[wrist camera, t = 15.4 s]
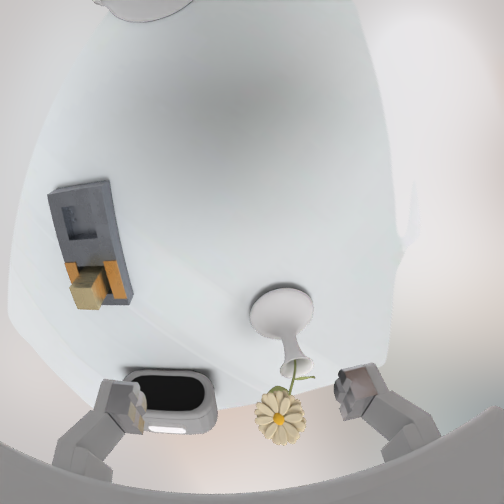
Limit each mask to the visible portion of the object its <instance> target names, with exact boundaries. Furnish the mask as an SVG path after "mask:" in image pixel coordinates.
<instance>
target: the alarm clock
mask: <svg viewBox="0 0 504 504" xmlns="http://www.w3.org/2000/svg"><path fill="white" fill-rule="evenodd" d="M123 381H127V382H138V384H139V385H140V391H142V392H143V393H144V395H145V397H146V402H147V409H146V413H145V414H144V415H143V416H142V418H143V420H144V421H145V424H144V431H149V432H155V433H168V434H189V435H191V434H202V433H206V432H207V431H209V430H211V429H212V428H213V427H214V425H215V424H216V421H217V416H218V411H217V405H216V399H215V393H214V387H213V385H212V383H211V381H210V380H209V379H208V378H207V377H206V376H205V375H203V374H201V373H197V372H194V370H154V369H144V370H142V371H135V372H132V373H130V374H128V375H127V376H126V377H125V378H124V380H123Z"/></svg>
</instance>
